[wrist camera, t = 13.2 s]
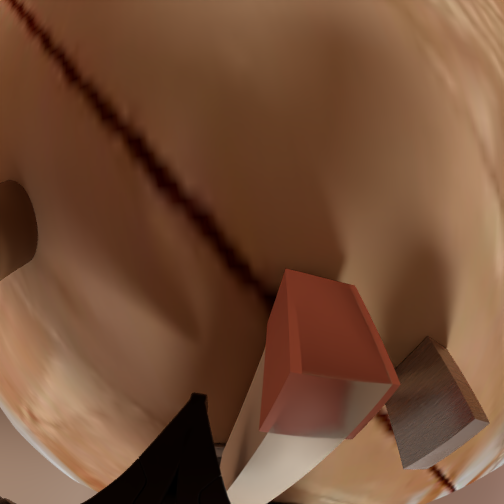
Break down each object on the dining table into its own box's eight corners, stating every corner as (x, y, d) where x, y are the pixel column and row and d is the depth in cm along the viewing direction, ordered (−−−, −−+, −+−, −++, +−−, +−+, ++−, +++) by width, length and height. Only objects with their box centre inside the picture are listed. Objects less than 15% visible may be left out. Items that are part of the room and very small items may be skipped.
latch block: (447, 349, 9) (489, 423, 5) (401, 392, 10) (426, 469, 6) (427, 335, 9) (475, 418, 5) (378, 383, 10) (403, 469, 6)
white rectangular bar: (256, 458, 12) (250, 516, 8) (219, 451, 12) (207, 509, 8) (355, 285, 8) (400, 384, 4) (285, 268, 8) (290, 371, 4)
